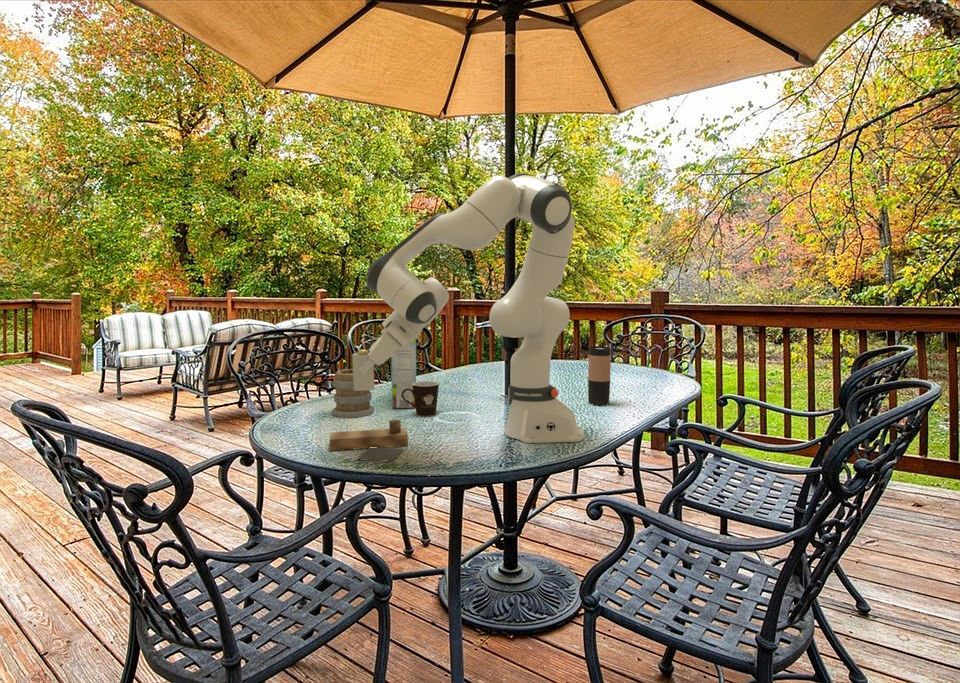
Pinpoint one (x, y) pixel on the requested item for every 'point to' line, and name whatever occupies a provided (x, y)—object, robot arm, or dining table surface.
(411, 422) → the dining table surface
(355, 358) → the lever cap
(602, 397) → the travel mug
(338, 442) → the body
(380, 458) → the mat
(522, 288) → the robot arm
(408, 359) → the snack box
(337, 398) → the tankard
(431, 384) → the coffee mug
